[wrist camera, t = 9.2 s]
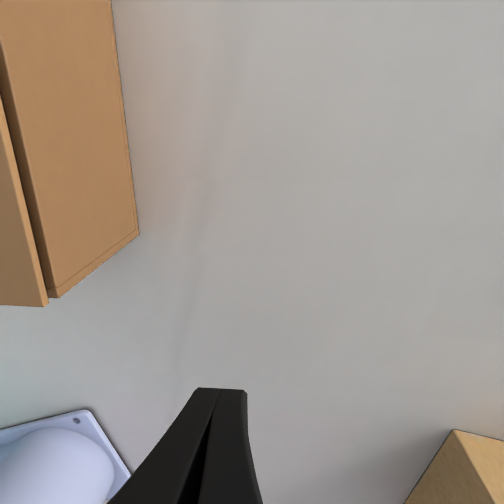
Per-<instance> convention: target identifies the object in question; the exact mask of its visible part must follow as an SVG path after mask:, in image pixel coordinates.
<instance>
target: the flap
mask: <svg viewBox="0 0 504 504" xmlns="http://www.w3.org/2000/svg"><path fill="white" fill-rule="evenodd" d="M48 303H49V301H48V297H47V292H46V288H45V284H44V280H43V275H42V271H41V267H40V262H39V258H38V254H37V250H36V245H35V241H34V237H33V233H32V228H31V224H30V220H29V216H28V211H27V207H26V203H25V198H24V194H23V190H22V186H21V181H20V177H19V173H18V169H17V164H16V160H15V156H14V151H13V147H12V143H11V139H10V134H9V130H8V126H7V122H6V117H5V113H4V109H3V104H2V100H1V96H0V305H13V306H33V307H44V306H46V305H47V304H48Z"/></svg>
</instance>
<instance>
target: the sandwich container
mask: <svg viewBox="0 0 504 504" xmlns="http://www.w3.org/2000/svg"><path fill="white" fill-rule="evenodd" d="M404 504H504V442H503V441H499V440H495V439H491V438H487V437H483V436H479V435H475V434H471V433H466V432H462V431H458V430H452V432H451V433H450V435H449V436H448V438H447V439H446V441H445V442H444V444H443V445H442V447H441V448H440V450H439V451H438V453H437V455H436V456H435V458H434V459H433V461H432V462H431V464H430V465H429V467H428V468H427V470H426V471H425V473H424V474H423V476H422V477H421V479H420V480H419V482H418V483H417V485H416V486H415V488H414V489H413V491H412V492H411V494H410V496H409V497H408V499H407V500H406V502H405V503H404Z"/></svg>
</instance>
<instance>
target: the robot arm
mask: <svg viewBox="0 0 504 504" xmlns="http://www.w3.org/2000/svg"><path fill="white" fill-rule="evenodd" d="M108 499H110V501H109V502H108V503H107V504H263V502H262V498H261V494H260V490H259V486H258V482H257V478H256V473H255V469H254V464H253V459H252V454H251V449H250V443H249V437H248V414H247V393H246V392H245V391H244V390H236V389H218V388H200V387H198V388H197V389H196V390H195V391H194V392H193V394H192V396H191V397H190V399H189V400H188V402H187V403H186V405H185V406H184V408H183V409H182V411H181V412H180V413H179V415H178V416H177V418H176V419H175V421H174V422H173V423H172V425H171V426H170V428H169V429H168V430H167V432H166V433H165V434H164V435H163V437H162V438H161V439H160V441H159V442H158V443H157V445H156V446H155V447H154V448H153V450H152V451H151V452H150V454H149V455H148V456H147V457H146V459H145V460H144V461H143V462H142V463H141V465H140V466H139V467H138V468H137V469H136V471H135V472H134V473H133V474H132V475H131V474H130V472H129V471H128V469H127V468H126V466H125V465H124V463H123V462H122V460H121V458H120V457H119V455H118V454H117V452H116V451H115V449H114V448H113V446H112V445H111V443H110V441H109V440H108V438H107V437H106V435H105V434H104V432H103V431H102V429H101V427H100V426H99V424H98V423H97V421H96V420H95V418H94V417H93V415H92V414H91V412H90V411H88V410H85V409H83V410H78V411H74V412H70V413H66V414H62V415H58V416H54V417H50V418H46V419H42V420H38V421H34V422H30V423H26V424H22V425H18V426H14V427H10V428H6V429H2V430H0V504H103V503H104V501H105V500H108Z"/></svg>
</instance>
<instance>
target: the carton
mask: <svg viewBox="0 0 504 504" xmlns="http://www.w3.org/2000/svg"><path fill="white" fill-rule="evenodd" d="M0 96H1V100H2V104H3V109H4V113H5V117H6V122H7V126H8V130H9V134H10V139H11V143H12V147H13V151H14V156H15V160H16V164H17V169H18V173H19V177H20V181H21V186H22V190H23V194H24V198H25V203H26V207H27V211H28V216H29V220H30V224H31V228H32V233H33V237H34V241H35V245H36V250H37V254H38V258H39V262H40V267H41V271H42V275H43V280H44V284H45V288H46V292H47V297H48V298H60V297H61V296H62V295H63V294H65V293H66V292H67V291H69V290H70V289H71V288H72V287H74V286H75V285H76V284H77V283H79V282H80V281H81V280H82V279H84V278H85V277H86V276H87V275H89V274H90V273H91V272H92V271H94V270H95V269H96V268H97V267H99V266H100V265H101V264H102V263H104V262H105V261H106V260H108V259H109V258H110V257H111V256H113V255H114V254H115V253H116V252H118V251H119V250H120V249H121V248H123V247H124V246H125V245H126V244H128V243H129V242H130V241H131V240H133V239H134V238H135V237H136V236H138V235H139V229H138V220H137V212H136V204H135V196H134V188H133V180H132V172H131V164H130V155H129V147H128V139H127V131H126V123H125V115H124V107H123V99H122V90H121V82H120V74H119V66H118V58H117V50H116V42H115V34H114V25H113V17H112V9H111V1H110V0H0Z"/></svg>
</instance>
